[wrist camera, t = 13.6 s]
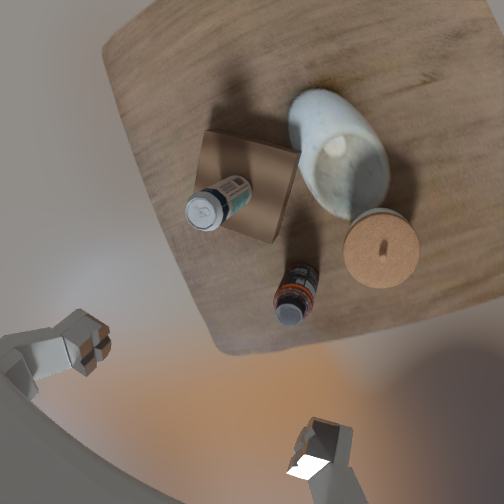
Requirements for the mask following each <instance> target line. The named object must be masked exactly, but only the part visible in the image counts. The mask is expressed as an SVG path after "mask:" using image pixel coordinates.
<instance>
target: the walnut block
mask: <svg viewBox="0 0 504 504" xmlns="http://www.w3.org/2000/svg"><path fill="white" fill-rule="evenodd" d="M300 156H301V151H297V150H294V149H291V148H287V147H284V146H280V145H277V144H273V143H270V142H266V141H262V140H258V139H255V138H251V137H247V136H243V135H239V134H235V133H231V132H226V131H222V130H218V129H213V130H205V133H204V138H203V143H202V148H201V154H200V159H199V165H198V171H197V176H196V182H195V188H194V193H197V192H199V191H201V190H203V189H205V188H207V187H209V186H211V185H213V184H215V183H217V182H220V181H222V180H224V179H226V178H228V177H230V176H233V175H238V176H241V177H243V178H245V179H246V180H247V181H248V182H249V184H250V186H251V189H252V196H251V199H250V201H249V202H248V203H247V204H246V205H244V206H243V207H242V208H241V209H239V210H238V211H237V212H236V213H234V214H233V215H232V216H230V217H229V218H228V219H227V220H225V221H224V222H223V223H222V224H220V225H219V226H222V227H225V228H228V229H230V230H233V231H236V232H239V233H242V234H245V235H248V236H250V237H253V238H256V239H259V240H262V241H265V242H267V243H270V244H272V243H273V242H274V240H275V239H276V237H277V236H278V234H279V230H280V227H281V223H282V220H283V216H284V213H285V209H286V206H287V202H288V199H289V195H290V192H291V188H292V185H293V181H294V177H295V174H296V170H297V167H298V163H299V159H300Z"/></svg>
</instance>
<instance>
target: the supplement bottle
mask: <svg viewBox="0 0 504 504" xmlns="http://www.w3.org/2000/svg"><path fill="white" fill-rule="evenodd" d="M318 281H319V278H318V275H317V272H316V271H315V270H314V269H313V268H312V267H311V266H309V265H307V264H302V263H298V264H294V265H292V266H290V267H289V268H288V269H287V270H286V272H285V274H284V276H283V278H282V281H281V283H280V285H279V287H278V289H277V291H276V294H275V296H274V300H273V305H274V309H275V316H276V319H277V320H278V322H280V323H281V324H282V325H284V326H288V327H293V326H296V325H298V324H300V323H301V321H302V320H303V319H305V318H306V317H308V315H309V314H310V313H311V310H312V307H313V304H314V300H315V295H316V291H317V287H318Z"/></svg>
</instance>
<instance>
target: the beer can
mask: <svg viewBox="0 0 504 504" xmlns="http://www.w3.org/2000/svg"><path fill="white" fill-rule="evenodd" d="M251 196H252V189H251V186H250V184H249V182H248V181H247V180H246V179H245V178H243V177H241V176H238V175H233V176H230V177H228V178H226V179H224V180H222V181H220V182H217V183H215V184H213V185H211V186H209V187H207V188H205V189H203V190H201V191H199V192H197V193H194V194H193V195H192V196H191V197H190V198H189V199H188V201H187V205H186V210H185V214H186V217H187V220H188V222H189V223H190V224H191V225H192V226H193V227H194V228H195V229H199V230H203V231H211V230H214V229H216V228H217V227H218V226H219V225H220V224H222V223H223V222H224V221H225V220H227V219H228V218H229V217H230V216H232V215H233V214H234V213H236V212H237V211H238V210H239V209H241V208H242V207H243V206H244V205H246V204H247V203H248V202H249V201H250V199H251Z"/></svg>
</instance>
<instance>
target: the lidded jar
mask: <svg viewBox="0 0 504 504" xmlns="http://www.w3.org/2000/svg"><path fill="white" fill-rule="evenodd" d="M419 257H420V242H419V238H418V236H417V234H416V232H415V230H414V228H413V227H412V226H411V224H410V223H409V222H408V221H407V220H406V219H405V218H404V217H403V216H402V215H401V214H399V213H398V212H396V211H394V210H391V209H387V208H373V209H370V210H367V211H365V212H363V213H361V214H360V215H359V216H358V217H357V218H356V219H355V220H354V221H353V222H352V224H351V225H350V227H349V229H348V231H347V234H346V238H345V241H344V246H343V258H344V262H345V265H346V267H347V269H348V271H349V272H350V274H351V275H352V276H353V277H354V278H355V279H356V280H357V281H359V282H360V283H362V284H364V285H366V286H369V287H373V288H388V287H392V286H395V285H397V284H399V283H401V282H403V281H404V280H406V279H407V278H408V277H409V276H410V275H411V274H412V272H413V271H414V270H415V268H416V266H417V264H418V261H419Z"/></svg>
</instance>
